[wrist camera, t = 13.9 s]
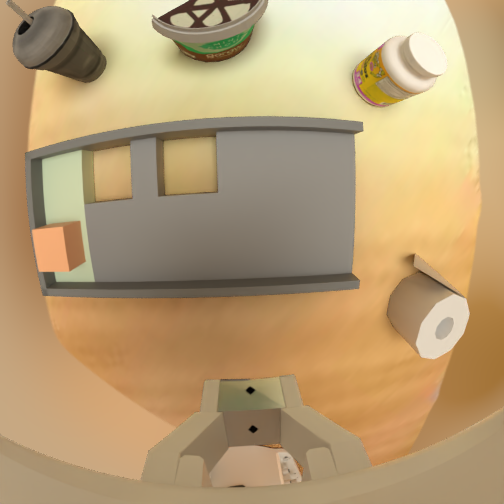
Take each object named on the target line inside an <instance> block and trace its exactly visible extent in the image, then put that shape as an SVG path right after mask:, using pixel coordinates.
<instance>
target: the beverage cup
mask: <svg viewBox="0 0 504 504" xmlns="http://www.w3.org/2000/svg"><path fill="white" fill-rule="evenodd" d="M6 4H7V5H8V6H9V7H11V8H12V9H13V10H14V11H15V12H16V13H17V14H19V15H20V16H21V17H22V18H23V19H24V20H23V21H22V22H21V23H20V25H19V26H18V28H17V30H16V32H15V34H14V38H13V52H14V55H15V56H16V58H17V59H18V61H19V62H20V63H21V64H23V65H24V66H25V67H26V68H29V69H38V70H47V71H51V72H54V73H57V74H60V75H63V76H66V77H69V78H72V79H75V80H78V81H82V82H85V83H86V82H91V81H94V80H95V79H97V78H98V77H99V76H100V75H101V74H102V73H103V71H104V69H105V66H106V58H105V56H104V55H103V54H102V52H101V51H100V50H99V48H98V47H97V46H96V45H95V44H94V43H93V42H92V40H91V39H90V38H89V37H88V36H87V35H86V33H85V32H84V31H83V30H82V29H81V28H80V27H79V25H78V22H77V21H76V19H75V17H74V15H73V13H72V12H70V11H69V10H66V9H64V8H61V7H57V6H47V7H43V8H41V9H38V10H36V11H34V12H32V13H31V14H29V15H27V14H26V13H25V12H24V11H23V10H22V9H20V7H18V6H17V5H16V4H15V3H14V2H13V1H12V0H8V1H7V2H6Z"/></svg>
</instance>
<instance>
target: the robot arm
mask: <svg viewBox="0 0 504 504" xmlns="http://www.w3.org/2000/svg"><path fill="white" fill-rule="evenodd" d="M271 444H280V445H281V446H282V447H283V448H280V449H273V448H268V447H263V446H255V445H271ZM295 460H296V461H297V462H298V463H299V464H300V465H301V466H302V467H303V468H304V469H303V474H302V475H301V473H300V471H299V468H298V466H297V464H296V461H295ZM0 504H504V407H502V408H501V409H499V410H497V411H496V412H494V413H493V414H491V415H489V416H488V417H486V418H484V419H483V420H481V421H479V422H477V423H476V424H474V425H472V426H471V427H468V428H467V429H465V430H463V431H461V432H459V433H457V434H455V435H453V436H451V437H449V438H446V439H444V440H442V441H440V442H438V443H436V444H433V445H431V446H429V447H426V448H424V449H421V450H419V451H416V452H414V453H411V454H409V455H406V456H403V457H400V458H397V459H395V460H392V461H389V462H385V463H382V464H379V465H376V466H372V465H371V462H370V460H369V458H368V455H367V453H366V451H365V448H364V446H363V444H362V442H361V439H360V438H359V437H357V436H355V435H354V434H352V433H350V432H349V431H347V430H345V429H344V428H342V427H341V426H339V425H337V424H336V423H334V422H333V421H331V420H330V419H328V418H326V417H325V416H323V415H322V414H320V413H319V412H317V411H316V410H314V409H313V408H311V407H310V406H308V405H307V406H304V405H303V402H302V398H301V395H300V391H299V388H298V384H297V380H296V377H295V375H294V374H293V375H285V376H279V377H268V378H256V379H221V380H205V382H204V386H203V392H202V399H201V406H200V412H195V413H194V414H192V415H191V416H190V417H189V418H188V419H187V420H186V421H184V422H183V423H182V424H181V425H180V426H178V427H177V428H176V429H175V430H174V431H172V432H171V433H170V434H169V435H168V436H166V437H165V438H164V439H163V440H162V441H160V442H159V443H158V444H157V445H155V446H154V447H153V448H152V449H150V450H149V451H148V455H147V458H146V462H145V466H144V469H143V473H142V477H141V480H134V479H129V478H124V477H119V476H114V475H109V474H105V473H101V472H98V471H94V470H90V469H86V468H83V467H80V466H76V465H73V464H70V463H67V462H64V461H61V460H58V459H55V458H52V457H50V456H46V455H44V454H42V453H39V452H37V451H35V450H32V449H30V448H27V447H25V446H23V445H20V444H18V443H16V442H14V441H12V440H10V439H8V438H6V437H4V436H2V435H0Z"/></svg>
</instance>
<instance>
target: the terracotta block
mask: <svg viewBox="0 0 504 504" xmlns="http://www.w3.org/2000/svg"><path fill="white" fill-rule="evenodd" d="M32 234H33V241H34V248H35V254H36V259H37V265H38V270H39V272H70V271H71V270H73V269H75V268H76V267H78V266H79V265H81V264H83V263H84V262H86V260H85V253H84V246H83V239H82V231H81V222H80V221H72V222H62V223H53V224H48V225H45V226H42V227H39V228H36V229H33V230H32Z"/></svg>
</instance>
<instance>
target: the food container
mask: <svg viewBox="0 0 504 504" xmlns="http://www.w3.org/2000/svg"><path fill="white" fill-rule="evenodd" d="M267 4H268V0H189V1H187V2H186V3H184V4H182V5H180V6H179V7H177V8H175V9H173V10H171V11H170V12H168V13H166V14H164V15H163V16H161V17H159V18H158V19H157V18H156V17H155V16H154V15H152V16H153V19H152V25H153V28H154V29H155V30H156V31H157V32H159V33H160V34H162V35H163V36H165V37H168V38H170V39H172V40H173V41H174V43H175V44H176V45H177V46H178V47H179V49H180V50H181V51H182V52H183V53H184V54H185V55H187V56H189V57H191V58H193V59H195V60H199V61H204V62H219V61H223V60H226V59H229V58H232V57H234V56H235V55H237V54H239V53H240V52H241V51H242V50H243V49H244V48H245V47H246V46H247V44H248V42H249V40H250V37H251V34H252V30H253V27H254V24H255V23H256V22H257V21H258V20H259V19H260V18H261V16H262V15H263V13H264V12H265V10H266V7H267Z"/></svg>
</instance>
